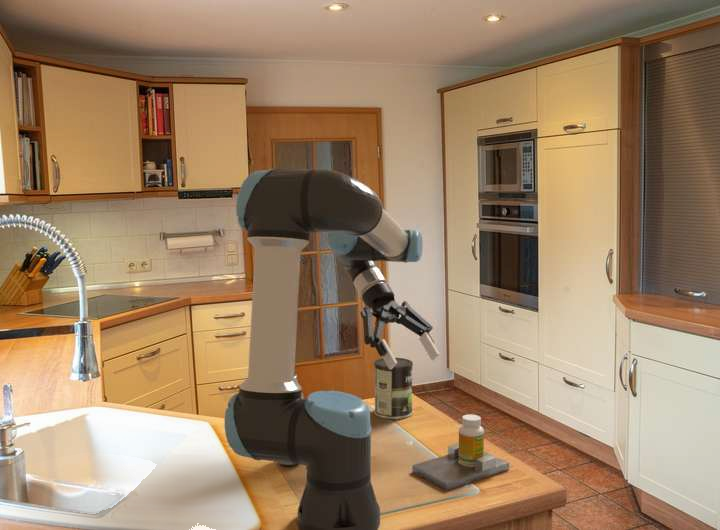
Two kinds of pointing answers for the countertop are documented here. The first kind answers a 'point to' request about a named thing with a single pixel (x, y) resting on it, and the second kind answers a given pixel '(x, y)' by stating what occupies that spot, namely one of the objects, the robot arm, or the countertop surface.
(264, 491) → the countertop surface
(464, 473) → the hinge plate
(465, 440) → the supplement bottle
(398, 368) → the coffee can
